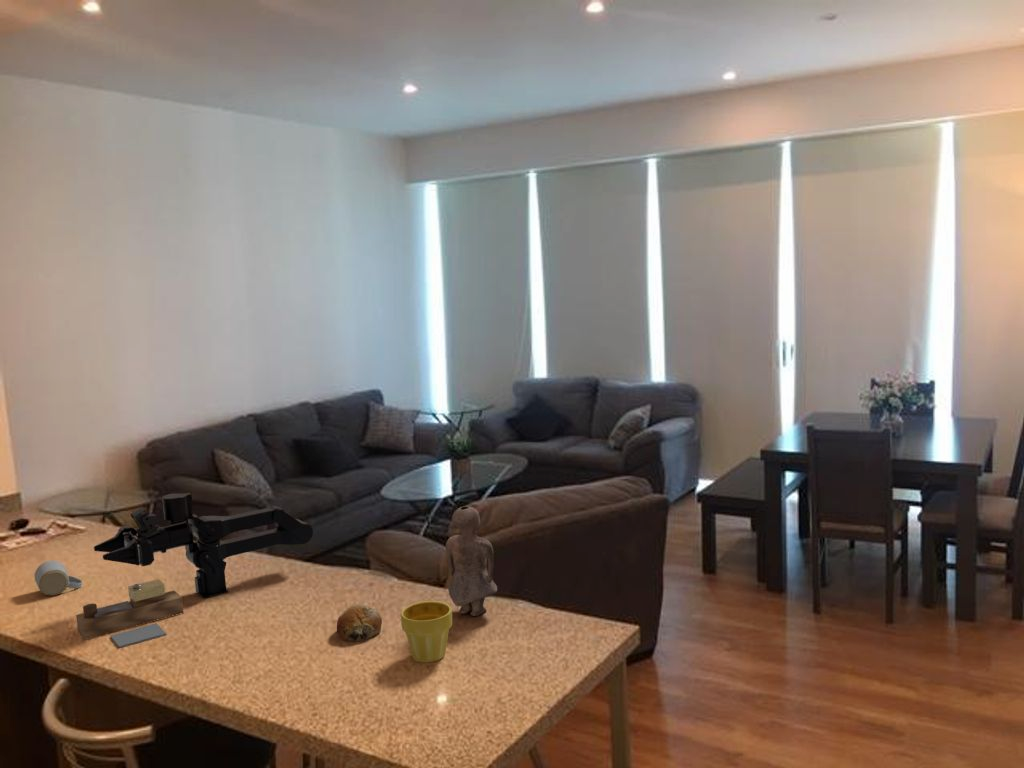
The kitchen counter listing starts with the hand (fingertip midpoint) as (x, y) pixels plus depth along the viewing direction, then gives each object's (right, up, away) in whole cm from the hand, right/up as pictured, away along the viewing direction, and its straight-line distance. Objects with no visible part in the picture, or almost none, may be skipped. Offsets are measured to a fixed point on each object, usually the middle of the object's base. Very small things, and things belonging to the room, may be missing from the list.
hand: (98, 553), depth 203 cm
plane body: (+8, -16, 0) cm, 18 cm away
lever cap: (+11, -10, +2) cm, 15 cm away
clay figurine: (+89, -13, -5) cm, 90 cm away
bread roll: (+64, -15, -13) cm, 67 cm away
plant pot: (+81, -16, -26) cm, 86 cm away
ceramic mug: (-22, -15, +25) cm, 36 cm away
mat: (+13, -17, -9) cm, 23 cm away
